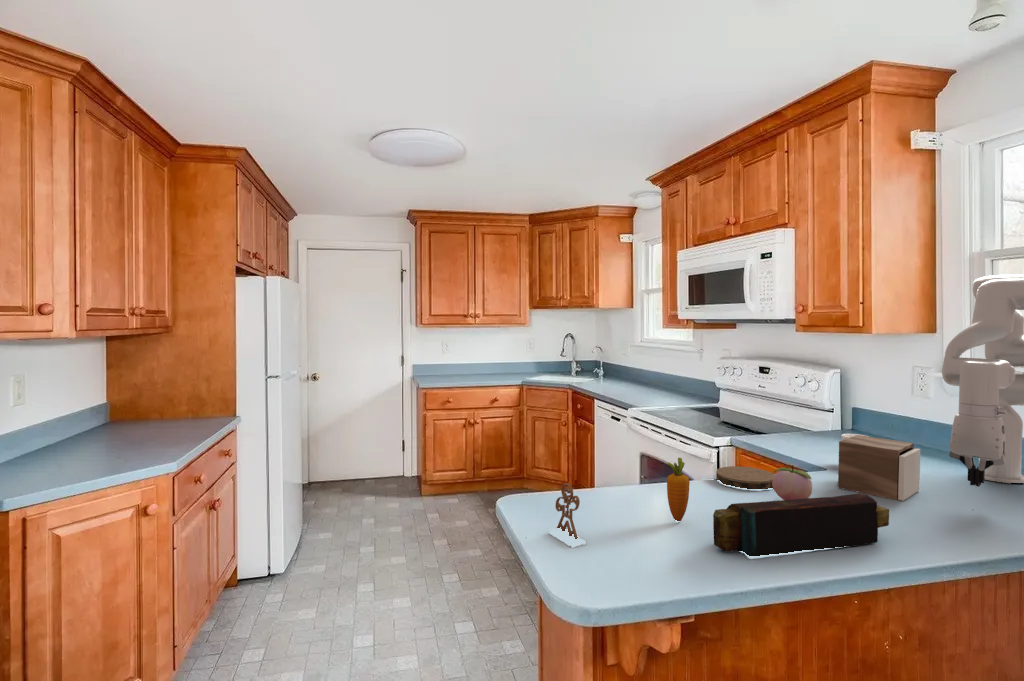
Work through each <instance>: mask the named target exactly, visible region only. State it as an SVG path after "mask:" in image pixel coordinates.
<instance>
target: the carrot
mask: <svg viewBox="0 0 1024 681" xmlns="http://www.w3.org/2000/svg"><path fill="white" fill-rule="evenodd" d="M685 464H686V463H685V462H684V461H683V458H681V457H677V462H673V463H671V462H667V465H668V466H669V467H670V468H671V469H672V471H673V473H671V474H669V475H667V478H666V492H667V493H666V495H667V502H668V507H669V511H670V514H671V516H672V518H673V520H674V519H675V520H677V521H681V522H682V519H683V518H684V516H685V514H686V511H687V508H688V502H689V498H690V496H689V495H690V478H689V477H688V476H687V475H685V474H684V473H682V472H683V469H684V467H685ZM675 520H674V521H675Z"/></svg>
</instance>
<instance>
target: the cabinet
mask: <svg viewBox="0 0 1024 681" xmlns="http://www.w3.org/2000/svg"><path fill="white" fill-rule="evenodd" d="M860 435H861V434H860ZM860 435H856V436H853V437H850V438H848V439H845V440H842V439H841V440H840V441H838V470H837V471H838V472H837V473H838V476H837V478H838V479H837V488H838V487H839V488H838V489H842V488H844V489H843V490H846V489H848V490H847V491H851V490H853V491H852V492H856V491H858V492H857V493H860V494H865V493H866V494H865V495H871V496H875V497H880V498H885V499H890V500H894V501H895V500H896V501H899V500H898V485H899V456H901V455H903V454H905V453H907V452H909V451H911V450H913V449H915V442H911V441H910V442H909V441H902V440H901V441H900V440H894V439H889V438H887V439H886V438H881V437H874V436H869V437H867V436H868V435H865V436H860Z"/></svg>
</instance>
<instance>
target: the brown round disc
mask: <svg viewBox="0 0 1024 681" xmlns="http://www.w3.org/2000/svg"><path fill="white" fill-rule="evenodd" d="M715 476H716V477H715V478H716V480H720V481H721V482H722V483H723V484H726V485H731V486H735V487H740V488H747V489H768V488H773V486H772V481H773V478H774V476H775V473H774V472H771V471H767V470H765V469H761V468H755V467H751V466H750V467H749V466H734V465H732V466H723V467H719V468H717V469H716V475H715Z"/></svg>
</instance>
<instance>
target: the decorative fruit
mask: <svg viewBox="0 0 1024 681" xmlns="http://www.w3.org/2000/svg"><path fill="white" fill-rule="evenodd" d="M773 473H774V475H775V476H774V478H773V481H772V486H773V489H772V490H773V491H774V492H775V494H776V495H777V496H778V497H779V498H781V499H782V500H792V499H804V498H811V495H812V492H813V481H812V477H811V475H810V474H809V473H808V472H806V471H804V470H799V469H794V465H791V468H788V467H780V468H777V469H775V470H774V471H773Z"/></svg>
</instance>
